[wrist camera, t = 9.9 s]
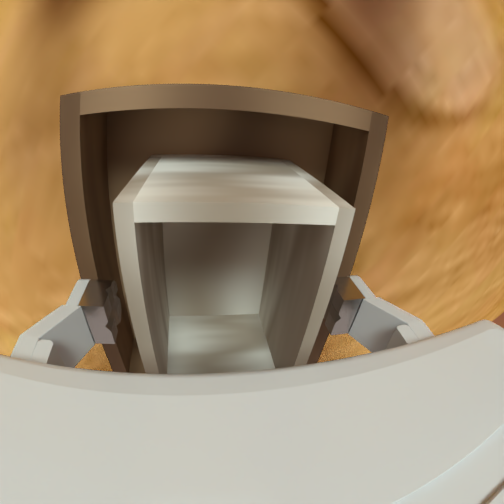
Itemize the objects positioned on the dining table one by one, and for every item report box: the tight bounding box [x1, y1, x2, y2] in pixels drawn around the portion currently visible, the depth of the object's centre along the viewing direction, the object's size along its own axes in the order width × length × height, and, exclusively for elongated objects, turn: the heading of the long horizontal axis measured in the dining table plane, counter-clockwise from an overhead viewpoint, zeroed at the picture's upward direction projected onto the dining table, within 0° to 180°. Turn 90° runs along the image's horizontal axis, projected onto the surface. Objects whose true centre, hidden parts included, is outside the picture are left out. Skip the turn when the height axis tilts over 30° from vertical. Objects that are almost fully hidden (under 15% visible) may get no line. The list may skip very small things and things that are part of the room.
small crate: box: [113, 154, 355, 374], centre depth 11 cm, size 6×9×6 cm, turn 174°
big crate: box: [60, 84, 389, 373], centre depth 13 cm, size 12×15×4 cm
